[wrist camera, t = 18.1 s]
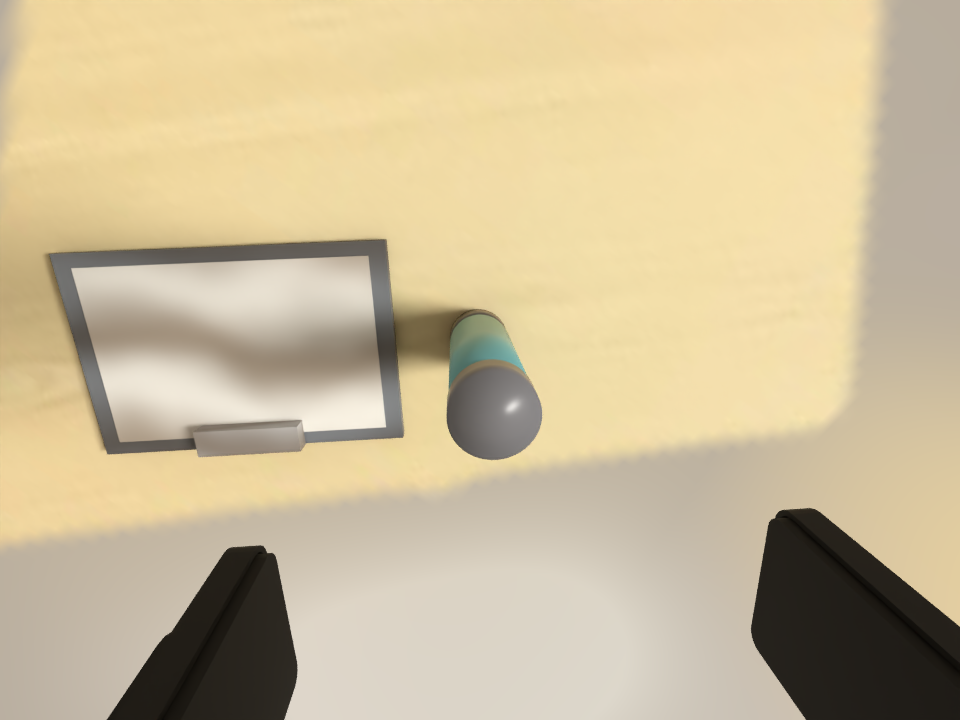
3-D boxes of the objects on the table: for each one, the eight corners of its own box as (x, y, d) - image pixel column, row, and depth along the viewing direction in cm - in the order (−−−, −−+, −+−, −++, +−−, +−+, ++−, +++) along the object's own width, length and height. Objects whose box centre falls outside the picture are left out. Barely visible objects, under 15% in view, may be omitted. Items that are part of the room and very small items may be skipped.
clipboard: (57, 253, 26) (31, 255, 25) (386, 239, 27) (382, 241, 25) (114, 449, 30) (94, 463, 28) (404, 433, 31) (401, 445, 29)
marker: (443, 315, 28) (436, 382, 17) (501, 303, 28) (533, 362, 17) (456, 370, 30) (458, 468, 18) (511, 358, 29) (549, 449, 18)
